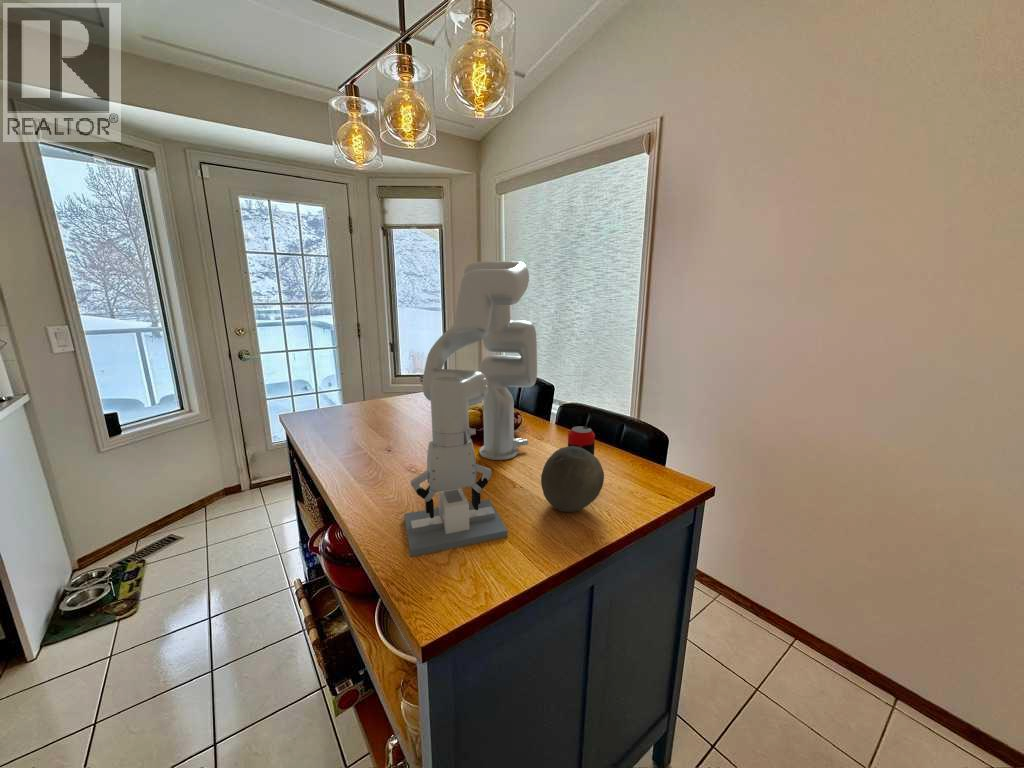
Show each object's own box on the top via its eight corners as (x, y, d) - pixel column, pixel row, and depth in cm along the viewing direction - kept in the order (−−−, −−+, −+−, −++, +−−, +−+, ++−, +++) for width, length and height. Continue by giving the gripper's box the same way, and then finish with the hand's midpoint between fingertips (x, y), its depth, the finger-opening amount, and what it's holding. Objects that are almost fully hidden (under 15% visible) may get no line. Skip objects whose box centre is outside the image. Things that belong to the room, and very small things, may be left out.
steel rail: (491, 511, 92) (491, 506, 92) (495, 517, 89) (495, 512, 89) (411, 525, 86) (410, 520, 86) (412, 533, 83) (412, 528, 83)
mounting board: (489, 504, 98) (489, 498, 97) (507, 536, 85) (507, 530, 84) (404, 519, 91) (404, 513, 91) (410, 557, 78) (410, 550, 78)
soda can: (598, 468, 118) (600, 429, 115) (584, 476, 112) (585, 436, 110) (576, 460, 123) (578, 423, 120) (562, 468, 117) (563, 429, 115)
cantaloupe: (560, 530, 87) (561, 466, 84) (531, 500, 100) (531, 443, 96) (613, 516, 92) (617, 455, 89) (579, 489, 105) (581, 435, 102)
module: (461, 510, 92) (460, 485, 91) (469, 529, 85) (468, 502, 83) (439, 514, 90) (438, 489, 89) (445, 534, 83) (444, 506, 82)
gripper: (486, 426, 89) (487, 496, 93) (406, 435, 84) (411, 509, 88) (496, 437, 82) (496, 512, 86) (409, 448, 77) (414, 528, 81)
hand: (453, 511), depth 87 cm, fingers open, 9 cm apart
